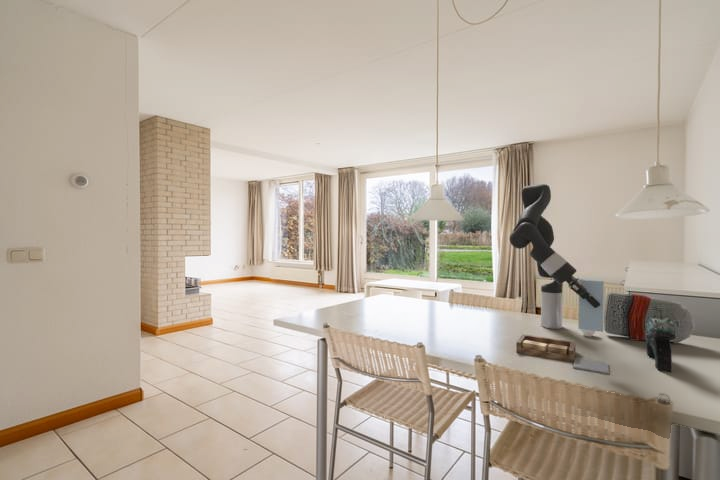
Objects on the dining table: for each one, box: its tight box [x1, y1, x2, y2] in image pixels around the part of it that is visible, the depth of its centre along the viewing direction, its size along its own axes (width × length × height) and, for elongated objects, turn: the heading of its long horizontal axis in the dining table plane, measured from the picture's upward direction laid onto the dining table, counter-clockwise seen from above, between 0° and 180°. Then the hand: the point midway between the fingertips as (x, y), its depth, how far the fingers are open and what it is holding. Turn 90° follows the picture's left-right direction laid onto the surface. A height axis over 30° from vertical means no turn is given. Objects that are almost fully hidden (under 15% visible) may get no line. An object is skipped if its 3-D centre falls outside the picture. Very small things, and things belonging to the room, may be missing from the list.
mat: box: [572, 357, 610, 375], centre depth 122 cm, size 10×10×1 cm
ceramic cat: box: [645, 308, 675, 373], centre depth 125 cm, size 20×6×20 cm, turn 151°
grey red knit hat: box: [603, 291, 696, 344], centre depth 152 cm, size 19×6×30 cm
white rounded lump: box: [580, 329, 596, 337], centre depth 159 cm, size 6×6×7 cm
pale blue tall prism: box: [578, 278, 605, 333], centre depth 122 cm, size 7×4×17 cm, turn 56°
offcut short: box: [548, 344, 568, 355], centre depth 132 cm, size 6×4×4 cm, turn 52°
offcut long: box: [522, 340, 548, 352], centre depth 137 cm, size 8×4×4 cm, turn 49°
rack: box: [515, 333, 577, 363], centre depth 137 cm, size 19×13×4 cm
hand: (598, 305), depth 121 cm, fingers closed on pale blue tall prism, 3 cm apart
